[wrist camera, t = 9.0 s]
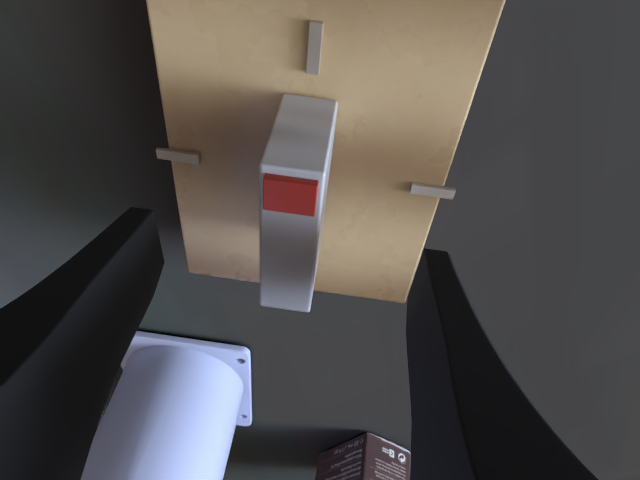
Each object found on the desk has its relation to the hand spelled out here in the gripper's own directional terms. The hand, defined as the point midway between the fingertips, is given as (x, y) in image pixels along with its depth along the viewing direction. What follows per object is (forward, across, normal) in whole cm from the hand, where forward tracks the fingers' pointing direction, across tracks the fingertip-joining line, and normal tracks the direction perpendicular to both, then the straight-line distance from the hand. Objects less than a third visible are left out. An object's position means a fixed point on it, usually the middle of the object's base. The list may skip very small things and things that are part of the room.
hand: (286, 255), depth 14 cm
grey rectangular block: (+4, 0, 0) cm, 4 cm away
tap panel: (+6, 0, 0) cm, 6 cm away
